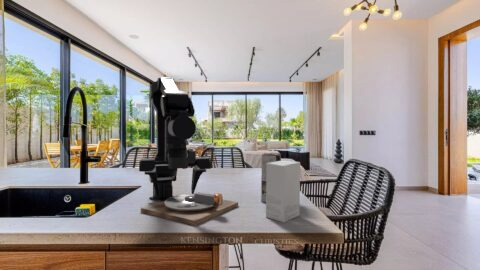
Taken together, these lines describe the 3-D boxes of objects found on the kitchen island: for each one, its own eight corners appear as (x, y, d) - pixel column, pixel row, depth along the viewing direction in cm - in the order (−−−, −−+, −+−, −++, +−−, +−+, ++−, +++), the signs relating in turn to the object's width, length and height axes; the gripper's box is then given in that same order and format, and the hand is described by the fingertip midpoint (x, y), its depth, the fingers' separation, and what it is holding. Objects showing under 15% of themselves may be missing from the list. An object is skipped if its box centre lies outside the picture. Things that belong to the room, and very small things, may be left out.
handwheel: (153, 205, 81) (153, 191, 81) (189, 195, 94) (189, 183, 94) (203, 217, 71) (203, 201, 71) (235, 203, 84) (235, 189, 84)
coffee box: (279, 203, 91) (280, 155, 90) (260, 202, 92) (261, 154, 92) (281, 196, 100) (281, 153, 99) (263, 195, 101) (264, 152, 100)
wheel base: (140, 212, 80) (140, 208, 80) (188, 197, 98) (188, 193, 98) (195, 225, 69) (195, 220, 69) (238, 205, 87) (238, 202, 87)
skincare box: (282, 211, 82) (283, 159, 81) (301, 216, 77) (302, 161, 77) (264, 217, 76) (265, 162, 75) (283, 223, 71) (284, 164, 71)
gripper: (138, 139, 63) (138, 206, 63) (216, 139, 69) (215, 200, 69) (139, 138, 74) (139, 195, 74) (207, 137, 80) (206, 190, 80)
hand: (175, 195), depth 74 cm, fingers open, 9 cm apart
